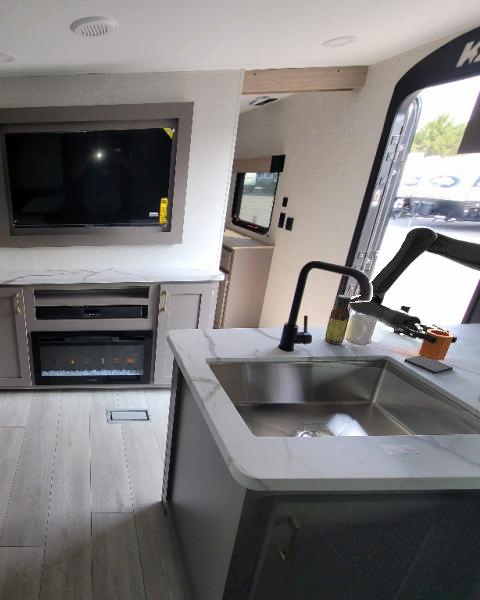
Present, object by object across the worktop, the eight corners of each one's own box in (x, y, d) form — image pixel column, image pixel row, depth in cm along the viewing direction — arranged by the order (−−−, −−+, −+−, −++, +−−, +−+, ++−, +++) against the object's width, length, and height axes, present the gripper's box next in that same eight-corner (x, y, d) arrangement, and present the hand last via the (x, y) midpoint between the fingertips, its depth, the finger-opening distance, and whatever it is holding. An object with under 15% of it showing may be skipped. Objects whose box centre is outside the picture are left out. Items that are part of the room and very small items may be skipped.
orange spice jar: (413, 351, 119) (422, 329, 116) (430, 350, 119) (439, 328, 116) (431, 360, 113) (440, 337, 110) (448, 359, 113) (458, 336, 110)
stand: (393, 328, 145) (402, 301, 140) (412, 335, 138) (422, 306, 134) (381, 330, 143) (390, 303, 138) (400, 337, 137) (410, 309, 132)
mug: (373, 351, 127) (381, 327, 123) (346, 346, 131) (353, 323, 127) (367, 338, 137) (374, 316, 133) (342, 334, 141) (349, 312, 137)
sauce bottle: (344, 346, 132) (358, 300, 125) (326, 343, 134) (338, 298, 127) (339, 338, 137) (351, 294, 130) (321, 336, 139) (333, 293, 132)
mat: (421, 356, 122) (421, 354, 122) (452, 369, 114) (453, 367, 114) (404, 360, 120) (404, 358, 120) (434, 373, 112) (435, 371, 112)
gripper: (384, 312, 125) (429, 332, 110) (420, 311, 126) (470, 330, 110) (378, 330, 128) (421, 351, 112) (414, 328, 128) (461, 349, 113)
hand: (445, 340), depth 111 cm, fingers closed on orange spice jar, 6 cm apart
